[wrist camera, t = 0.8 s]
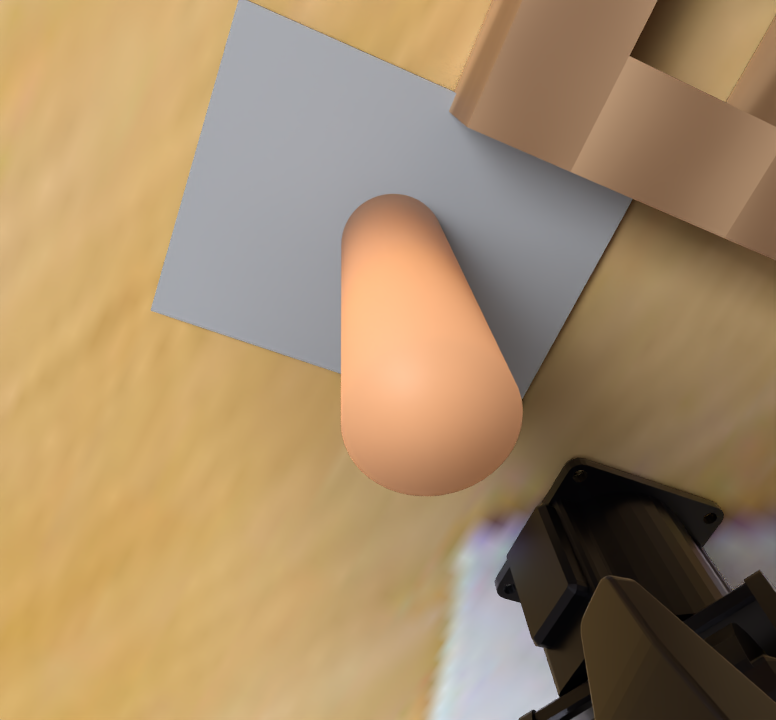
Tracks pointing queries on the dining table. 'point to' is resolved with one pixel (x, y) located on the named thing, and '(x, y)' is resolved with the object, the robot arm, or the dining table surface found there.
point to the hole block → (626, 113)
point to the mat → (363, 199)
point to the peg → (418, 357)
